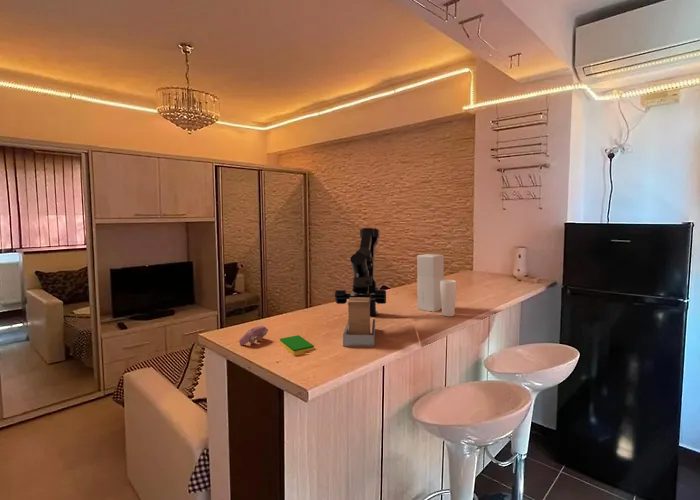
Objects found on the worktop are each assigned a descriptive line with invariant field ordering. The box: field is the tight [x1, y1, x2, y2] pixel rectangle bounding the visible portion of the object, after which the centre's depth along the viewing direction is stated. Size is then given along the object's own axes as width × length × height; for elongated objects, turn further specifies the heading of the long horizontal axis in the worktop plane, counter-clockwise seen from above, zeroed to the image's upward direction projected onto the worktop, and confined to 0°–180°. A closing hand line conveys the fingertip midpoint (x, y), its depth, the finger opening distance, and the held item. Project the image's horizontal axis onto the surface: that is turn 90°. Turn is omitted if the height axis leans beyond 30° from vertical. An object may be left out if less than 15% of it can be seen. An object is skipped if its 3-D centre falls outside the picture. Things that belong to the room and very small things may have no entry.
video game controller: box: [238, 325, 269, 346], centre depth 137 cm, size 10×5×7 cm, turn 149°
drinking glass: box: [440, 279, 457, 318], centre depth 167 cm, size 7×7×15 cm
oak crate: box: [347, 297, 371, 335], centre depth 135 cm, size 7×7×14 cm
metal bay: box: [342, 318, 376, 348], centre depth 138 cm, size 20×10×5 cm, turn 175°
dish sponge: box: [279, 334, 315, 356], centre depth 131 cm, size 7×14×2 cm, turn 29°
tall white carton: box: [416, 253, 445, 313], centre depth 179 cm, size 9×9×25 cm
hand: (360, 316), depth 139 cm, fingers closed, pressing on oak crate
